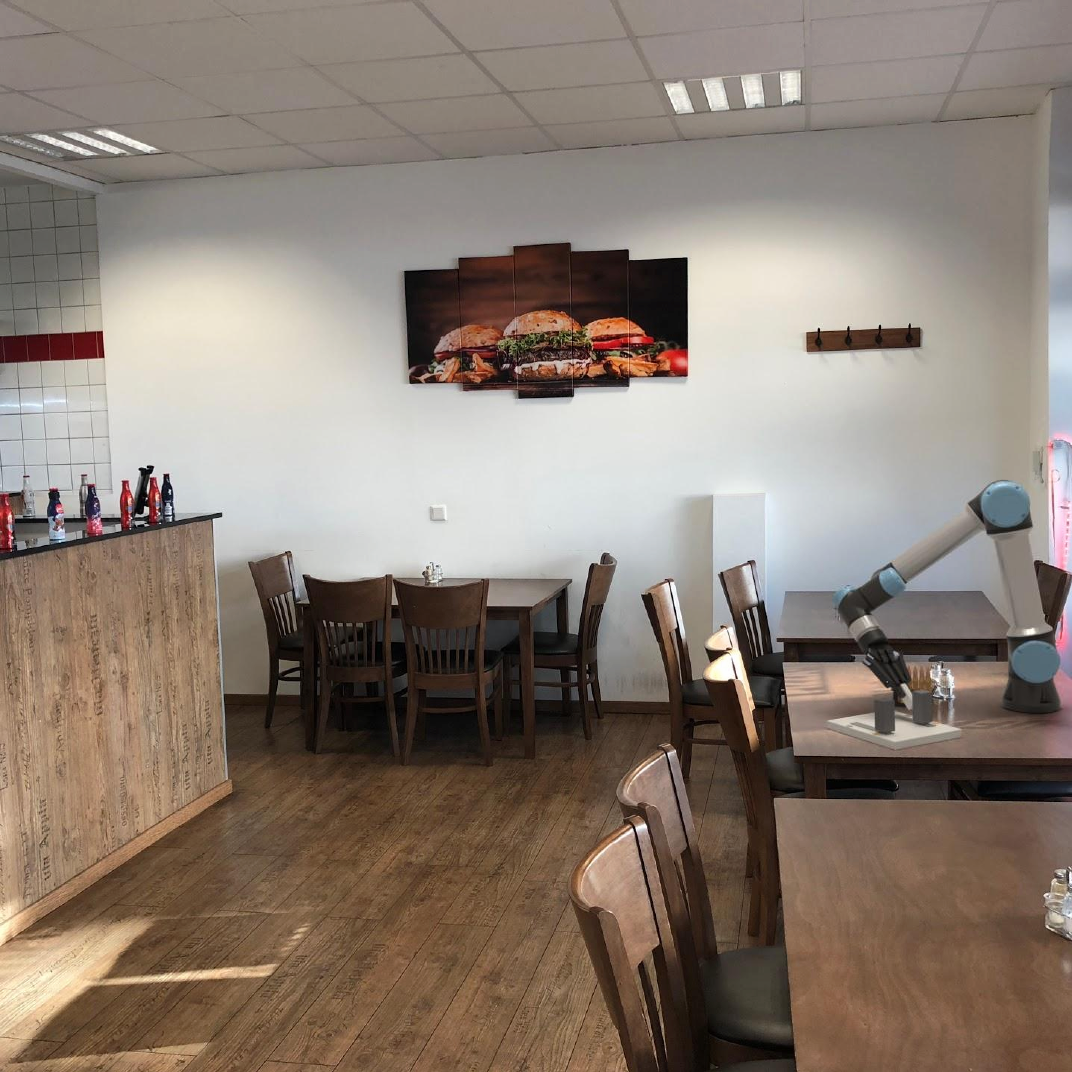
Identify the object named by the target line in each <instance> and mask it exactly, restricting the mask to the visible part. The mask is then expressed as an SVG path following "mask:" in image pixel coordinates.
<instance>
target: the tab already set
mask: <svg viewBox="0 0 1072 1072" xmlns="http://www.w3.org/2000/svg"><path fill="white" fill-rule="evenodd" d="M873 703H874V706H873V707H874V712H875V730H876V731H880V732H883V733H887V732H892V731H895V711H896V710H895V709H896V707H895V700H893V698H887V697H881V698H875V699H874V701H873Z"/></svg>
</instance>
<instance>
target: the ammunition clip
mask: <svg viewBox="0 0 1072 1072" xmlns="http://www.w3.org/2000/svg"><path fill="white" fill-rule="evenodd" d="M907 669H908V672H909V674H910V677H911V681H910V682H909V683H908V686H909V687H910V689H911V691H917V690H926V691H930V692H932V693H933V691H932V678H931V670H930V666H929V665H927V667H926V671H924V668H923V665H921V666H920V668H919V677H918V669H917V665H914V667H913V672H912V671H911V667H910V665H908V666H907ZM892 700H895V708H907V707H906V705H905V703H904V702H903V700H902V699H900V698H899V696H898V695H897V693H896V691H895V690H894V691H892ZM932 708H933V705H932Z"/></svg>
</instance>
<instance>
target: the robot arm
mask: <svg viewBox="0 0 1072 1072" xmlns="http://www.w3.org/2000/svg"><path fill="white" fill-rule="evenodd" d="M1033 529H1034V526H1033V519H1032V514H1031V501H1030V496H1029V494H1028V493H1027V491H1026V489H1024V488H1023V487H1022V486H1021V485H1019V483H1017V482H1015V481H1011V480H1008V479H999V480H995V481H993V482H990V483H989V484H988V485H986V486H985V488H983V490H981V492H979V493H978V494H977V495H976V496H975V497H973V499H970V500H969V501H968V502H967V503H966V504H965V509H963V510H961V512H959V513H957V514H956V515H955V516H953V517H952V518H951V519H949V520H948V521H946V522H945V523H943V524H942V525H941V526H939V527H938V528H937V529H935V530H934V531H933V532H930V533H929V534H928V535H926V537H924V538H922V539H921V540H920V541H919V542H917V543H915V544H914V545H912V546H911V547H910V548H908V549H907V550H905V551H904V552H903V553H901V554H900V555H898V556H897V557H896V558H894V559H893V560H891V561H890V562H889V563H887V564H886V565H885V566H883V567H881V568H878V569H877V570H876V571H875V572H873V573H872V575H871V577H870V580H868V581H867V582H865V583H864V584H863V585H861V586H859V587H857V588H856V587H855V586H853V585H846V586H844V587H841V588H840V589H838V590H836V592H835V593H834V595H833V597H832V602H833V604H834V606H835V608H836V610H837V613H838V614H839V616H840V617H841V618H842V621H843V622H844V623H845V625H846V627H847V628H848V630H849V631H850V633H851V635H852V636H853V639H854V640H855V641H856V642H857V645H858V646H859V648H860V649H861V651H862V653H863V654H864V655H865V657H864V659H862V664H863V665H864V666H865V667H867V668H868V669H869V670H870V671H871V672H872V673H873V675H874V676H875V677H876V678H877V680H879V682H880V683H881V684H882V685H883V687H885V688H886V689H890V691H891V692H893V691H894V690H895V691H896V693H897V695H898V696H899V700H900V699H902V700H903V702H904V703H905V705H906V707H905V708H907V710H908V711H913V710H912V691H911V689H910V687H909V686H908V683H909V682H910V681H911V678H912V676H911V677H910V674H909V672H908V669H907V668H908V666H907V664H906V662H905V659H904V652H903V651H901V650H900V651H895V650H894V649H893V647H892V646H891V645H889V639H888V637H887V635H886V634H885V632H884V631H883V629H882V628H881V626H880V624H879V623H878V622H877V620H876V618H875V617H874V615H873V614H872V612H874V611H875V610H877V609H878V608H879V607H881V606H882V605H884V604H886V603H888V602H889V601H890V600H892V599H894V598H896V597H898V596H899V595H900V594H901V593H902V592H904V591H905V590H906V588H907V586H906V585H907V584H908V583H909V582H910V581H912V580H914V579H915V578H916V577H918V576H919V575H920V574H922V573H923V572H925V571H926V570H927V569H929V568H930V567H932V566H934V565H935V564H937V563H938V562H940V561H941V560H942V559H943V558H945V557H946V556H948V555H950V554H952V552H954V551H955V550H957V549H958V548H959V547H961V546H962V545H964V544H965V543H967V542H968V541H970V540H971V539H973V538H974V537H975V536H978V534H980V533H981V532H982V531H984V532H985V533H986V535H987V537H989V538H990V539H992V540H993V542H994V547H995V551H996V557H997V563H998V568H999V573H1000V579H1001V583H1002V587H1003V588H1002V589H1003V592H1004V593H1003V594H1004V598H1005V604H1006V609H1007V614H1008V620H1009V624H1010V627H1008V629H1007V632H1006V633H1005V634H1006V639H1007V662H1008V663H1007V668H1008V670H1007V671H1008V672H1007V674H1008V677H1007V681H1006V684H1005V688H1004V691H1003V693H1002V697H1001V707H1003V708H1004V709H1007V710H1008V711H1009V710H1010V711H1015V712H1019V713H1029V714H1030V713H1031V714H1032V713H1033V714H1045V713H1046V714H1047V713H1052V712H1053V713H1054V712H1057V711H1060V710H1061V707H1062V704H1061V703H1062V701H1061V698H1060V695H1059V692H1058V690H1057V687H1056V683H1055V680H1054V677H1055V676H1056V675H1057V673H1058V671H1059V669H1060V666H1061V656H1060V653H1059V651H1058V650H1057V643H1056V639H1055V633H1054V629H1053V627H1052V626H1051V625H1050V624H1048V623H1047V622H1046V620H1045V614H1044V611H1043V604H1042V599H1041V594H1040V588H1039V583H1038V578H1037V573H1036V568H1035V563H1034V558H1033V552H1032V548H1031V543H1030V537H1029V535H1030V533H1031V531H1032V530H1033Z"/></svg>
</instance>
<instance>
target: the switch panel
mask: <svg viewBox="0 0 1072 1072" xmlns="http://www.w3.org/2000/svg"><path fill="white" fill-rule="evenodd" d="M826 729H828V730H832V731H835V732H839V733H840V734H841V733H842V734H844V735H848V736H849V737H854V738H856V739H860V740H863V741H866V742H868V743H873V744H875V745H879V746H881V747H885V748H887V749H891V750H894V751H896V750H901V749H907V748H912V747H918V746H922V745H923V746H924V745H928V744H933V743H938V742H943V741H949V740H955V739H958V738H962V737H963V730H962V728H958V727H954V726H951V725H949V724H948V725H947V724H944V723H941V722H937V721H933V722H930V723H925V724H921V723H917V722H914V721H913V714H910V713H909V714H908V713H903V712H901V711H897V710H895V731H892V732H887V733H883V732H880V731H876V730H875V711H874V712H870V713H865V714H859V715H853V716H847V717H841V718H836V719H835V718H834V719H829V720H826Z"/></svg>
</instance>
